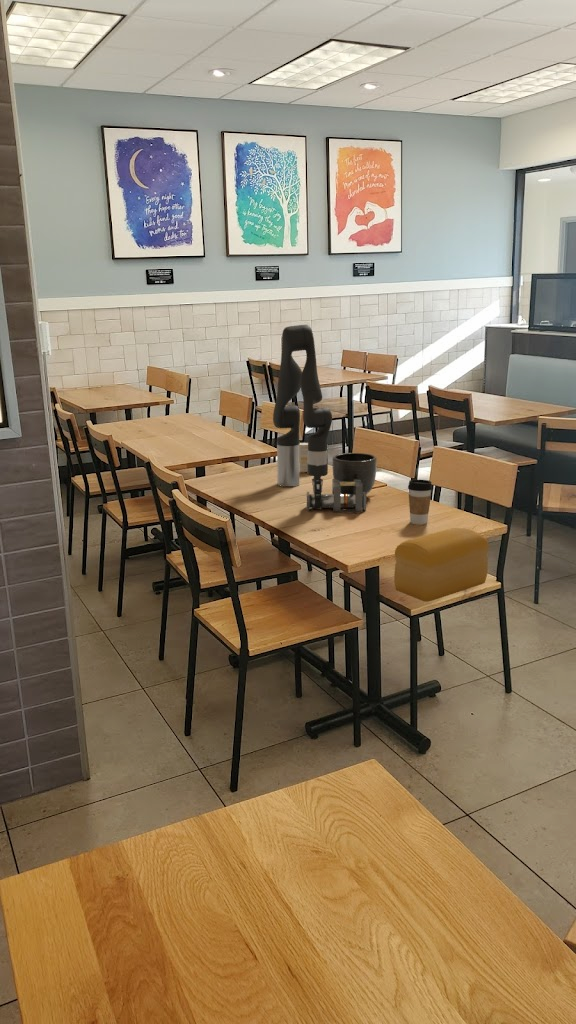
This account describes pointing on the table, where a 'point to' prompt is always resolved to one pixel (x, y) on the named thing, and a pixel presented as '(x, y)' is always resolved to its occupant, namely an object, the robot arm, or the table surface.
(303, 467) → the supplement box
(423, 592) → the bread
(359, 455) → the planter
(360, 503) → the hollow square frame
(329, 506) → the tube
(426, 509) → the coffee cup
